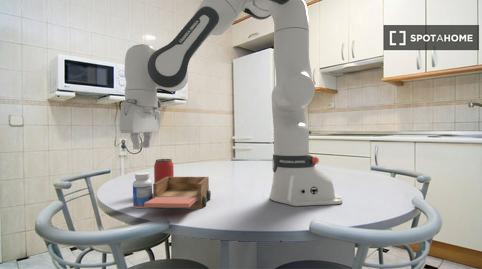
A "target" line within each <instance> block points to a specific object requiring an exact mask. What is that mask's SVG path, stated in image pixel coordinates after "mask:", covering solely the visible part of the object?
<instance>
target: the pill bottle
mask: <svg viewBox="0 0 482 269" xmlns="http://www.w3.org/2000/svg"><path fill="white" fill-rule="evenodd" d="M150 177H151V176H150V172H148V171H147V172H136V173H135V174H134V179H135V180H134V181H133V182H132V206H133V207H134V208H135V209H146V208H148V207H144V203H145V202H147V201H149V200H151V199H152V198H153V181H152V180H151V179H150Z"/></svg>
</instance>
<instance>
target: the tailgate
mask: <svg viewBox="0 0 482 269" xmlns="http://www.w3.org/2000/svg"><path fill="white" fill-rule="evenodd" d="M152 198H153V197H152ZM196 201H198V197H197V196H155V197H154V198H153V199H151V200H149V201H147V202H145V203H144V207H147V208H154V207H190V206H191V205H192V204H193V203H194V202H196Z"/></svg>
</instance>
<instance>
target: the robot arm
mask: <svg viewBox="0 0 482 269" xmlns="http://www.w3.org/2000/svg"><path fill="white" fill-rule="evenodd" d="M242 12H243V13H245V14H247V15H249V16H250V17H251V18H253V19H256V20H261V21H262V20H266V19H269V18H270V17H271V19H272V21H273V62H274V69H275V80H276V81H275V86H274V88H273V89H272V92H271V111H272V112H271V113H272V124H273V154H272V162H271V163H272V172H273V176H272V183H271V189H270V194H269V199H270V200H271V201H274V202H277V203H281V204H286V205H290V206H292V207H293V206H294V207H301V206H302V207H303V206H322V205H324V206H325V205H339V204H340V205H341V204H342V203H343V198H342V196H341V195H340V194H339V193H337V192H335V187H334V183H333V181H332V179H331V178H330V177H329V176H327V174H325V173H324V172H323V171H321V170H320V169H319V168H317V167H316V165H317V164H319V162H320V159H319V157H316V156H312V155H311V154H310V148H309V147H310V139H309V138H310V133H309V132H310V130H309V127H308V124H307V118H306V116H307V115H306V110H305V108H306V107H308V106H309V104H310V103H311V102H312V100H313V99H314V96H315V94H316V93H315V92H316V86H315V83H314V81H313V76H312V69H311V62H310V61H311V60H310V26H309V25H310V23H309V22H310V21H309V15H308V8H307V4H306V1H304V0H202V1H201V3H200V4H199V6H198V8H197V10H196V11H195V13H194V14H193V16H192V17H191V18H190V19H189V21H188V22H187V23H186V24H185V25H184V27H183V28H182V29H181V30H180V31H179V32H178V34H177V35H176V36H175V37H174V38H173V40H171V41H170V42H169V43H168V44H166V45H164V46H162V47H161V48H159V49H155V48H154V47H153V46H152V45H150V44H137V45H136V44H135V45H132V46H131V47H128V49H127V50H126V53H125V58H124V78H125V86H124V87H125V88H124V102H123V103H122V106H121V108H120V111H119V124H118V125H119V127H118V128H119V132H120V133H121V134H130V136H129V137H130V140H131V142H132V148H133V150H141V149H142V148H143V149H144V148H145V149H147V148H151V140H152V135H153V134H152V133H159V131H160V127H161V111H160V110H161V109H162V103H161V101H160V99H159V98H158V96H157V94H158V93H157V90H158V89H160V90H165V91H168V92H177V91H181V90H183V88H184V87H185V86H186V85H187V83H188V80H189V73H188V68H189V64H190V61H191V59H192V57H193V56H194V55H195V53H196V52H197V51H198V50H199V49H200V47H201V46H202V45H203V44H204V42H205V41H206V40H208V39H209V37H210V36H220V35H223V34H224V33H225V32H226V31H227V30H228V29H229V28H230V27H231V26H232V25H233V24H234V22H235V21H236V20H237V18H238V17H239V16H240V14H241V13H242ZM141 134H142V135H143V141H142V142H141V140H140V136H141Z"/></svg>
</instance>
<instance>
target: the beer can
mask: <svg viewBox="0 0 482 269" xmlns="http://www.w3.org/2000/svg"><path fill="white" fill-rule="evenodd" d="M153 173H154V174H153V175H154V179H153V181H154V182H153V184H154V183H156V182H158V181H160V180H161V179H163V178H165V177H175V174H174V163H173V159H172V158H160V159H159V158H157V159H155V162H154V165H153Z"/></svg>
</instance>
